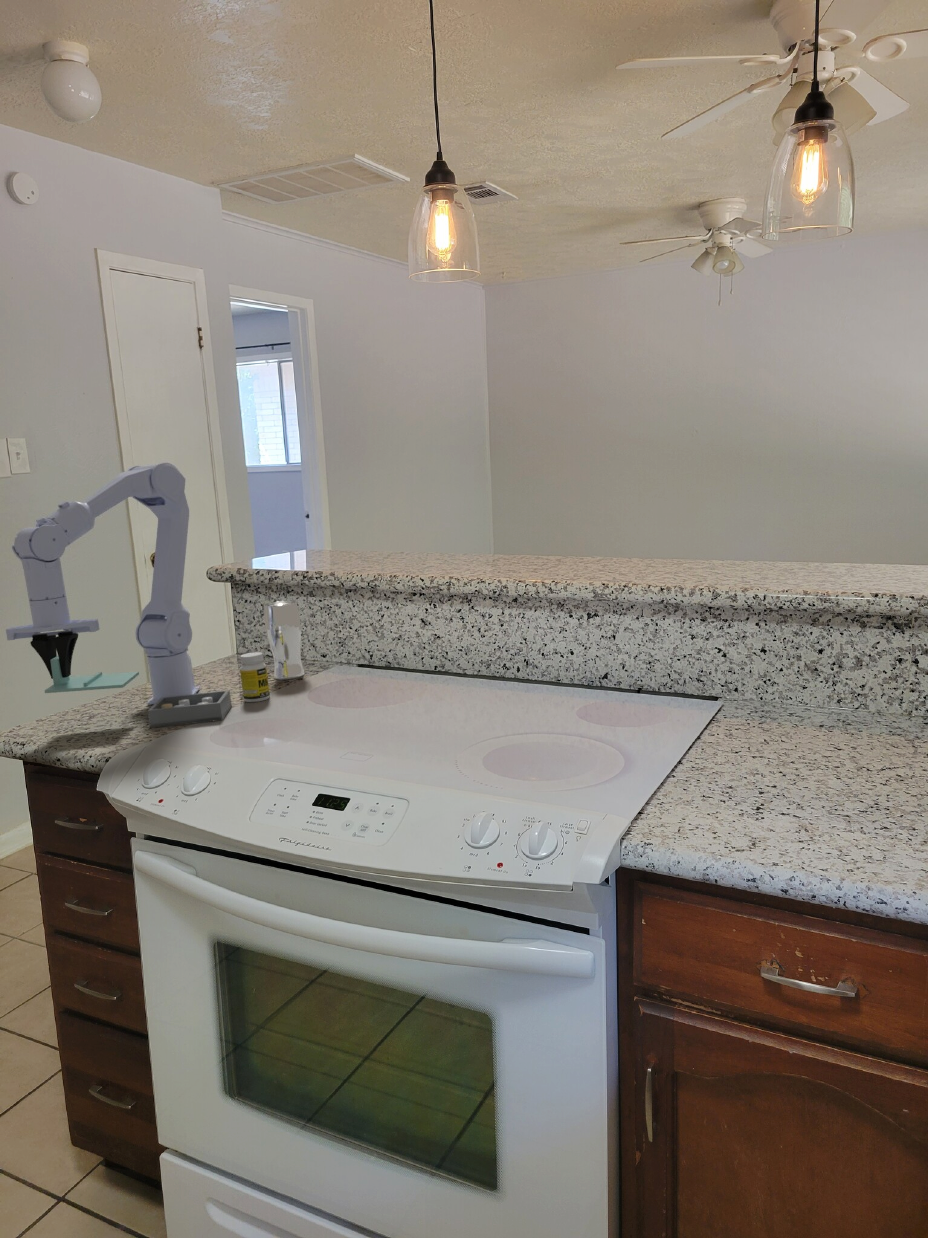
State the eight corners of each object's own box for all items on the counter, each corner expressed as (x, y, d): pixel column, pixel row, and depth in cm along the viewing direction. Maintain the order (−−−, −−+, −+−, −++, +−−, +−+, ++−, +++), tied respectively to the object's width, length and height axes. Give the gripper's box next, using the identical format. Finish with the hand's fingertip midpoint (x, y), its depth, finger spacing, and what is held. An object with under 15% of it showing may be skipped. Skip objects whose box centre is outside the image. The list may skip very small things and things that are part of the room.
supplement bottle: (263, 702, 159) (257, 656, 158) (239, 703, 160) (233, 658, 159) (274, 695, 164) (268, 651, 162) (250, 696, 165) (245, 652, 163)
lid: (65, 679, 155) (62, 651, 154) (139, 674, 156) (135, 646, 155) (44, 693, 146) (40, 663, 145) (123, 687, 147) (119, 658, 146)
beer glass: (296, 670, 184) (287, 599, 181) (313, 674, 178) (304, 601, 176) (266, 677, 179) (256, 604, 177) (282, 682, 174) (272, 607, 172)
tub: (163, 713, 157) (161, 697, 157) (231, 706, 158) (229, 690, 158) (150, 727, 149) (147, 710, 148) (222, 720, 149) (219, 703, 149)
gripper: (-8, 606, 144) (7, 687, 146) (83, 597, 145) (96, 677, 147) (11, 599, 151) (24, 677, 153) (97, 591, 152) (110, 668, 154)
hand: (61, 677), depth 150 cm, fingers closed on lid
